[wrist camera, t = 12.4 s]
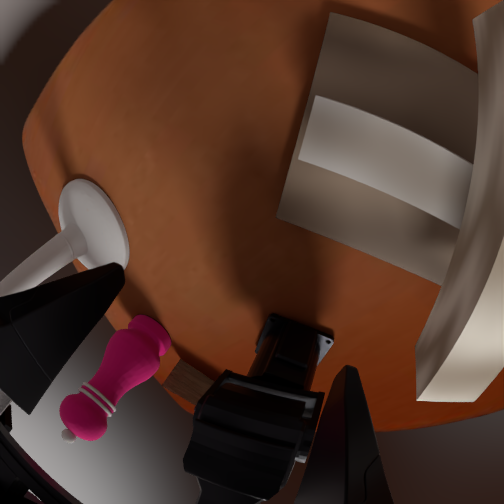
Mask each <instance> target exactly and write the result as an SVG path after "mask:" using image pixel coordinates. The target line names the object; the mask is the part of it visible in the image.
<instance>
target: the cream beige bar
mask: <svg viewBox="0 0 504 504" xmlns="http://www.w3.org/2000/svg"><path fill="white" fill-rule="evenodd" d="M472 20H473V26H474V33H475V41H476V50H477V62H478V83H479V105H478V127H477V139H476V149H475V157H474V164H473V171H472V177H471V183H470V188H469V193H468V198H467V203H466V208H465V212H464V216H463V220H462V224H461V228H460V232H459V235H458V239H457V242H456V246H455V249H454V252H453V255H452V258H451V261H450V264H449V267H448V270H447V273H446V276H445V279H444V281H443V284H442V287H441V289H440V292H439V294H438V297H437V299H436V302H435V304H434V307H433V309H432V311H431V313H430V316H429V318H428V320H427V322H426V325H425V327H424V329H423V331H422V333H421V335H420V337H419V339H418V341H417V343H416V345H415V355H416V382H417V401H437V402H474V401H475V400H476V399H477V398H478V397H479V396H480V394H481V393H482V392H483V391H484V390H485V389H486V388H487V387H488V385H489V384H490V383H491V382H492V381H493V379H494V378H495V377H496V376H497V375H498V373H499V372H500V371H501V369H502V368H503V367H504V0H503V1H501V2H500V3H498V4H496V5H495V6H493V7H491V8H490V9H488V10H487V11H485V12H483V13H482V14H480V15H479V16H477V17H475V18H474V19H472Z"/></svg>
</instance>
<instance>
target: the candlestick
mask: <svg viewBox="0 0 504 504" xmlns="http://www.w3.org/2000/svg"><path fill="white" fill-rule="evenodd" d="M59 220H60V225H61V229H62V231H61V232H60V233H59V234H57V235H56V236H55V237H54V238H52V239H51V240H50V241H48V242H47V243H46V244H45V245H43V246H42V247H41V248H39V249H38V250H37V251H36V252H34V253H33V254H32V255H31V256H30V257H28V258H27V259H26V260H25V261H24V262H22V263H21V264H20V265H19V266H18V267H17V268H16V269H14V270H13V271H12V272H11V273H10V274H9V275H8V276H6V277H5V278H4V279H3V280H2V281H1V282H0V297H2V296H6V295H10V294H14V293H17V292H21V291H24V290H27V289H31V288H34V287H35V286H37V285H38V284H39V283H41V282H42V281H43V280H45V279H46V278H47V277H49V276H50V275H52V274H53V273H55V272H56V271H58V270H59V269H61V268H62V267H63V266H65V265H67V264H68V263H70V262H72V261H73V260H74V259H76V258H77V259H78V260H79V261H80V262H81V263H82V264H83V265H84V266H86V267H87V268H88V269H92V268H96V267H99V266H102V265H105V264H109V263H112V262H117V263H118V264H120V265H122V266H123V268H124V269H125V268H126V266H127V264H128V260H129V243H128V238H127V234H126V230H125V227H124V224H123V222H122V220H121V217H120V215H119V213H118V212H117V210H116V208H115V206H114V205H113V203H112V202H111V200H110V199H109V198H108V196H107V195H106V194H105V193H104V192H103V191H102V190H101V189H100V188H99V187H98V186H97V185H95V184H94V183H92V182H90V181H88V180H85V179H75V180H73V181H71V182H69V183H68V184H67V185H66V186H65V187H64V188H63V190H62V193H61V196H60V200H59Z"/></svg>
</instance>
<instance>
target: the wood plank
mask: <svg viewBox="0 0 504 504" xmlns="http://www.w3.org/2000/svg"><path fill="white" fill-rule="evenodd" d="M213 383H214V381H213V380H211V379H209V378H208V377H206V376H205V375H204V374H202V373H201V372H199V371H197V370H196V369H195V368H193V367H192V366H190V365H189V364H187V363H186V362H184V361H183V360H181V359H180V360H179V362H178V363H177V365H176V366H175V367H174V369H173V370H172V372H171V373H170V375H169V376H168V377H167V379H166V380H165V382H164V383H163V384H162V386H163V387H165V388H167V389H168V390H170V391H171V392H173V393H175V394H177V395H179V396H181V397H182V398H184V399H186V400H187V401H189V402H191V403H192V404H194V405H197V402H198V400H199V399H200V398H201V397H202V396H203V395H204V394H205V392H206V391H207V390H208V389H209V388H210V387H211V386H212V384H213Z"/></svg>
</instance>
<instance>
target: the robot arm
mask: <svg viewBox="0 0 504 504" xmlns="http://www.w3.org/2000/svg"><path fill="white" fill-rule="evenodd" d="M124 284H125V276H124V268H123V266H122V265H120V264H118V263H117V262H112V263H109V264H105V265H102V266H99V267H96V268H92V269H89V270H86V271H83V272H80V273H77V274H73V275H70V276H67V277H64V278H61V279H58V280H55V281H52V282H49V283H46V284H43V285H40V286H37V287H34V288H31V289H27V290H24V291H21V292H17V293H14V294H10V295H6V296H2V297H0V504H83V503H81V502H80V501H79V500H77V499H76V498H75V497H74V496H72V495H71V494H70V493H69V492H67V491H66V490H65V489H64V488H63V487H62V486H60V485H59V484H58V483H57V482H56V481H55V480H54V479H52V478H51V477H50V476H49V475H48V474H47V473H46V472H45V471H44V470H43V469H42V468H41V467H40V466H39V465H38V464H37V463H36V462H35V461H34V460H33V459H32V458H31V457H30V456H29V455H28V454H27V453H26V452H25V451H24V450H23V449H22V448H21V446H20V445H19V444H18V443H17V442H16V441H15V439H14V438H13V437H12V436H11V435H10V433H9V432H10V431H11V430H12V417H11V405H10V403H11V402H12V401H13V402H14V403H16V404H17V405H18V406H19V407H20V408H21V409H22V410H24V411H25V412H26V413H27V414H28V415H30V414H31V412H32V411H33V409H34V408H35V406H36V405H37V403H38V402H39V400H40V399H41V397H42V396H43V395H44V393H45V392H46V390H47V389H48V387H49V386H50V385H51V383H52V382H53V380H54V379H55V377H56V376H57V375H58V373H59V372H60V371H61V369H62V368H63V366H64V365H65V364H66V362H67V361H68V360H69V358H70V357H71V356H72V354H73V353H74V352H75V351H76V349H77V348H78V347H79V345H80V344H81V343H82V342H83V340H84V339H85V338H86V336H87V335H88V334H89V333H90V331H91V330H92V329H93V328H94V326H95V325H96V324H97V322H98V321H99V320H100V319H101V318H102V317H103V315H104V314H105V313H106V311H107V310H108V308H109V307H110V305H111V304H112V302H113V301H114V299H115V298H116V296H117V295H118V293H119V292H120V291H121V289H122V288H123V286H124ZM272 318H273V319H272ZM328 340H330V341H328ZM333 342H334V337H333V336H331V335H328V334H325V333H323V332H320V331H318V330H315V329H312V328H310V327H307V326H305V325H302V324H299V323H297V322H294V321H292V320H289V319H287V318H284V317H282V316H279V315H277V314H274V313H272V314H270V315H269V317H268V319H267V322H266V324H265V327H264V329H263V332H262V335H261V337H260V340H259V342H258V345H257V347H256V350H255V353H256V354H257V355H256V357H255V360H254V362H253V364H252V366H251V368H250V370H249V372H248V374H247V376H244V375H241V374H237V373H234V372H232V371H230V370H227V369H226V370H225V371H224V372H223V373H222V374H221V375H220V376H219V377H218V379H217V380H216V381H215V382H214V383H213V384H212V386H211V387H210V388H209V389H208V390H207V391H206V392H205V394H204V395H203V396H202V397H201V398H200V399H199V400H198V402H197V405H196V406H195V409H194V411H195V412H194V417H193V427H194V428H193V434H192V437H191V440H190V443H189V446H188V448H187V450H186V453H185V455H184V458H183V463H184V470H185V472H187V473H189V474H191V475H193V476H196V478H197V481H198V484H199V487H200V493H199V496H198V499H197V501H196V504H259V503H261V502H262V501H264V500H266V501H267V500H269V499H270V498H271V497H273V496H274V495H275V494H276V493H278V491H279V490H280V489H281V488H283V487H284V486H285V484H286V483H287V480H288V478H289V476H290V473H291V471H292V468H293V465H294V463H295V461H298V462H302V463H305V461H306V458H307V455H308V452H309V449H310V446H311V443H312V440H313V437H314V433H315V430H316V426H317V423H318V419H319V415H320V411H321V407H322V403H323V399H324V395H325V393H324V392H319V393H318V392H313V391H310V389H311V385H312V382H313V378H314V375H315V371H316V367H317V365H318V364H319V363H320V361H321V360H322V358H323V357H324V356H325V354H326V353H327V352H328V350H329V349H330V347H331V346H332V345H333ZM379 453H380V452H379V448H378V444H377V440H376V436H375V431H374V428H373V424H372V420H371V416H370V412H369V408H368V405H367V401H366V398H365V394H364V390H363V387H362V383H361V380H360V377H359V373H358V370H357V368H355V367H353V366H350V365H345V366H344V367H343V368H342V370H341V371H340V372H339V373H338V374H337V375H336V377H335V379H334V381H333V384H332V387H331V389H330V392H329V395H328V398H327V401H326V403H325V406H324V409H323V411H322V414H321V417H320V421H319V424H318V428H317V432H316V436H315V439H314V443H313V447H312V450H311V454H310V457H309V460H308V463H307V467H306V470H305V473H304V476H303V479H302V482H301V485H300V488H299V491H298V494H297V497H296V499H295V502H294V504H394V502H393V499H392V497H391V493H390V490H389V487H388V484H387V480H386V477H385V473H384V469H383V465H382V461H381V456H380V455H379ZM29 489H30V490H31V491H32V492H33V493H34V494H35V495H36V496H37V497H38V498H39V499H40V500H41V501H40V500H39V499H38V498H37V497H36V496H34V495H33V494H32V493H30V492H29V491H28V490H29Z"/></svg>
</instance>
